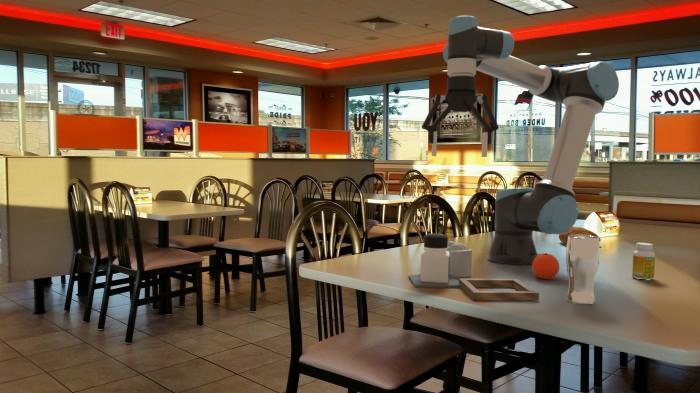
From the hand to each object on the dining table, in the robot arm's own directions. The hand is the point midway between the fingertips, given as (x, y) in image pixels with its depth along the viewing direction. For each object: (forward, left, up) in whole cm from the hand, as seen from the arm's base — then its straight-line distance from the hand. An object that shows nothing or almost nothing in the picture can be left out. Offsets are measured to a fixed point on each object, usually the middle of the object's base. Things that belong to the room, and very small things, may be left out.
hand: (459, 156), depth 153 cm
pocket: (-6, +18, -33) cm, 38 cm away
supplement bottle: (-52, 0, -33) cm, 62 cm away
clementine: (-24, +1, -33) cm, 41 cm away
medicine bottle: (+7, +7, -32) cm, 34 cm away
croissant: (-61, -62, -33) cm, 93 cm away
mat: (+7, +7, -33) cm, 34 cm away
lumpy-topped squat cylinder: (+1, -5, -33) cm, 33 cm away
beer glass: (-23, +26, -33) cm, 48 cm away
